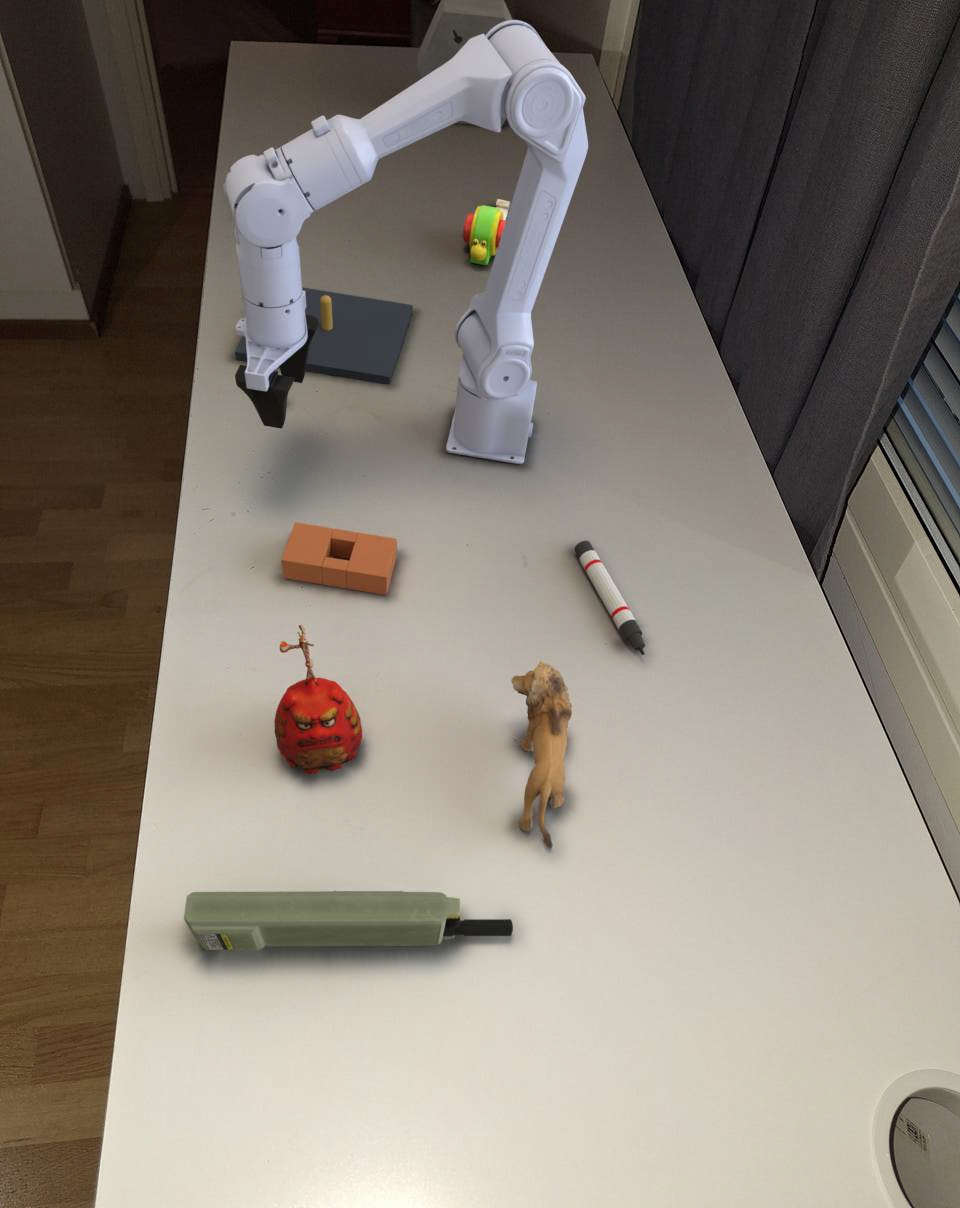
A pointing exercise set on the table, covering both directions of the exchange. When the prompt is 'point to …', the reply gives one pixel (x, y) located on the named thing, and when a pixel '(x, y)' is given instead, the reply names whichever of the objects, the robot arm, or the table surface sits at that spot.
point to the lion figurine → (544, 740)
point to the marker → (610, 595)
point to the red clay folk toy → (316, 721)
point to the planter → (458, 31)
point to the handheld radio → (330, 919)
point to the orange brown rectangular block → (314, 563)
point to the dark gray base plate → (352, 335)
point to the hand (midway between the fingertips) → (284, 401)
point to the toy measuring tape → (485, 230)
